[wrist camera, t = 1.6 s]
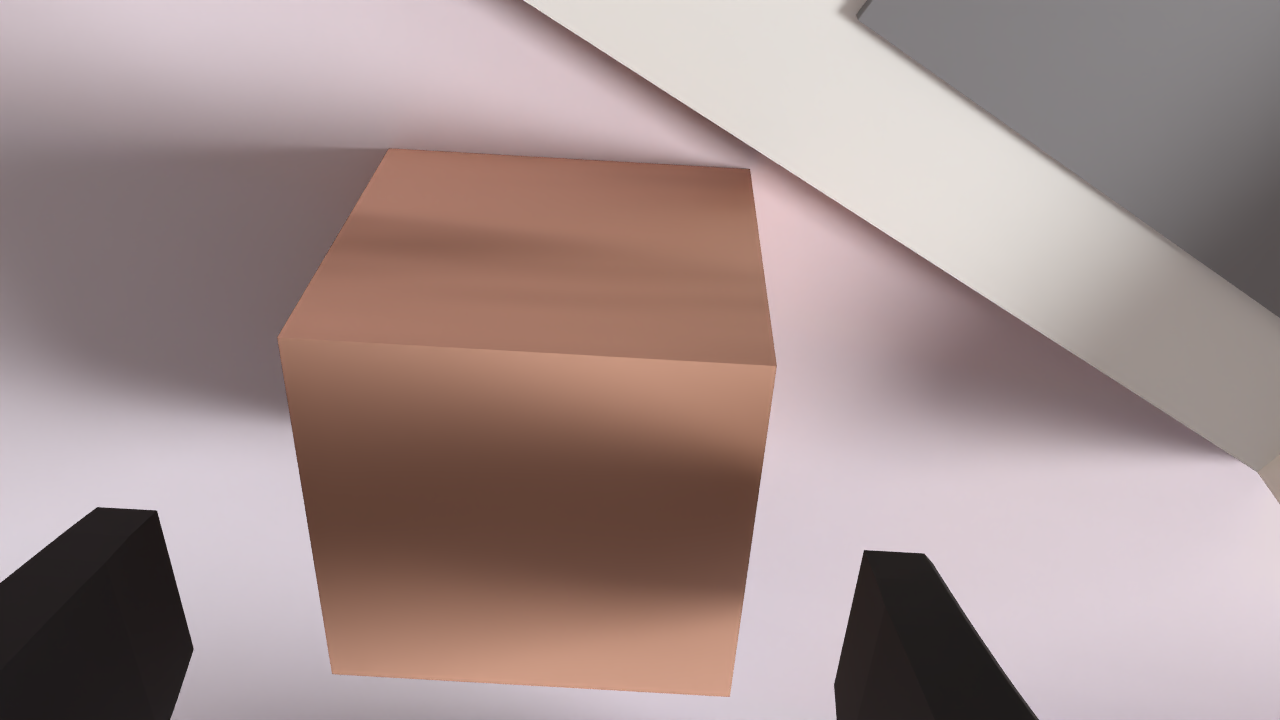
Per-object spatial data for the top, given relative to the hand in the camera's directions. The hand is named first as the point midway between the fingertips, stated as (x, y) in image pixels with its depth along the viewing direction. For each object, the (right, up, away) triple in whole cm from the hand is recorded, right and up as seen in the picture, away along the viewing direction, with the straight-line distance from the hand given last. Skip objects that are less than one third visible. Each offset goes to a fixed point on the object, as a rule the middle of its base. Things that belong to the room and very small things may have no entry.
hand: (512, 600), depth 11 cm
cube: (0, +3, +5) cm, 6 cm away
